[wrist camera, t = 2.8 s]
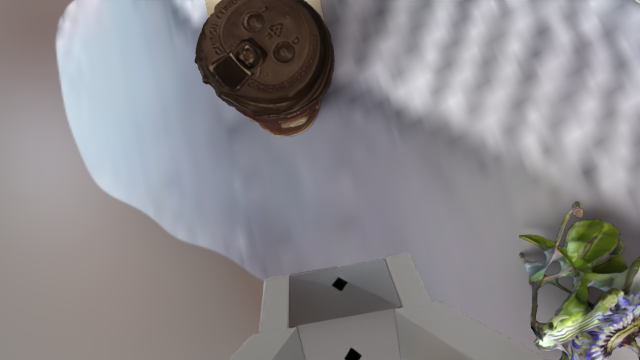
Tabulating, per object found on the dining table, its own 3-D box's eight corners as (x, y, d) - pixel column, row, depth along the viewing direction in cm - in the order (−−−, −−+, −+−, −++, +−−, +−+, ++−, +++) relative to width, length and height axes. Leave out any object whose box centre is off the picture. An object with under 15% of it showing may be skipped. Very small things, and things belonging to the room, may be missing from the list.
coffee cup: (239, 153, 36) (189, 118, 23) (231, 62, 37) (180, -20, 24) (336, 143, 36) (341, 102, 23) (327, 53, 37) (326, -35, 24)
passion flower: (546, 311, 40) (574, 429, 30) (470, 236, 39) (472, 333, 29) (670, 255, 34) (759, 380, 24) (585, 165, 33) (640, 256, 23)
